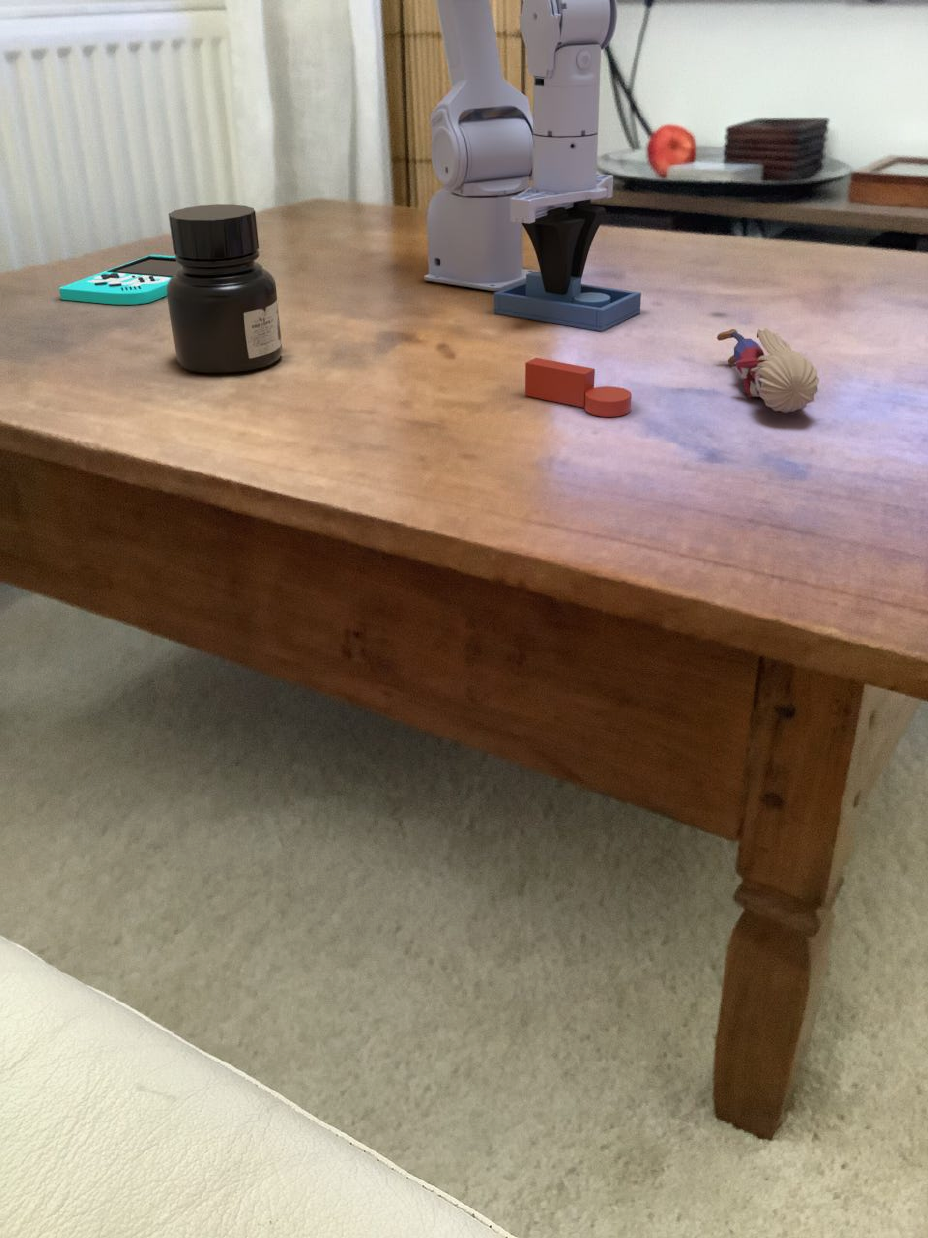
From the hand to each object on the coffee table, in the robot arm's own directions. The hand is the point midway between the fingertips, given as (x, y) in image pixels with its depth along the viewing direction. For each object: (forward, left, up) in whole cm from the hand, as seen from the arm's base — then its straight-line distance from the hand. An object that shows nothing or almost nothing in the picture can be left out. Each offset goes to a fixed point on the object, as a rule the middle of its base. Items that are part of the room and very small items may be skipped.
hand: (561, 290), depth 106 cm
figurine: (+25, -11, -2) cm, 28 cm away
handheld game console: (-43, -13, -2) cm, 45 cm away
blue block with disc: (0, 0, -1) cm, 1 cm away
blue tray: (+1, 0, -2) cm, 2 cm away
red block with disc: (+14, -21, -2) cm, 25 cm away
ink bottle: (-16, -27, -2) cm, 32 cm away
